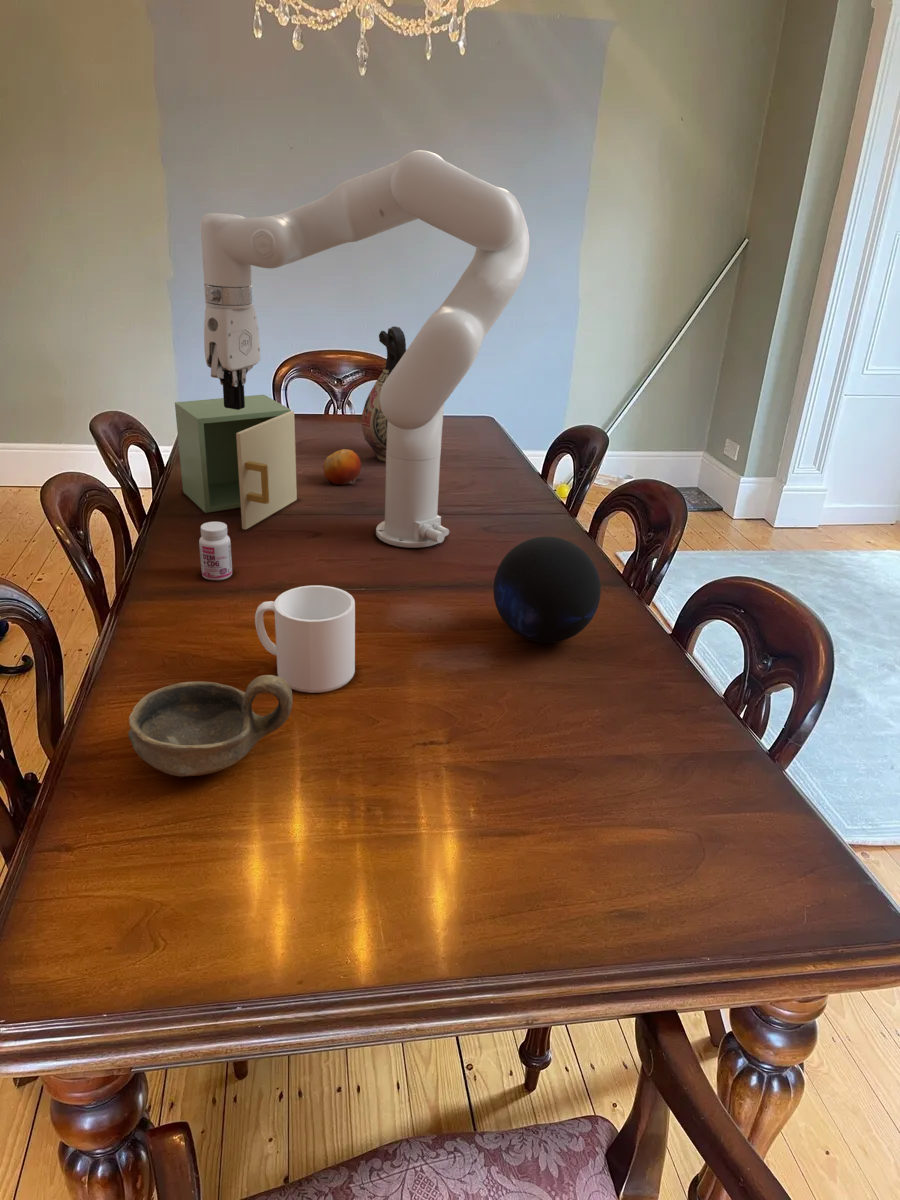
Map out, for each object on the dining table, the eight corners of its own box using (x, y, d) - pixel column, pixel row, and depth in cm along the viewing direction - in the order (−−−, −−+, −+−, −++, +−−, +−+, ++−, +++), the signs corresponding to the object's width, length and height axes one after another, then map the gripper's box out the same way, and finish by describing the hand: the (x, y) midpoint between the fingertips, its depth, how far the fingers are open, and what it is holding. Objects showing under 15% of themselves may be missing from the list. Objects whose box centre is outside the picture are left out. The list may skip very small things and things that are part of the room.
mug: (358, 654, 114) (358, 587, 109) (350, 695, 105) (350, 623, 100) (266, 650, 113) (262, 582, 109) (250, 691, 104) (245, 618, 100)
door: (315, 503, 164) (313, 414, 156) (265, 534, 149) (260, 437, 141) (293, 499, 166) (290, 410, 158) (242, 529, 151) (235, 433, 143)
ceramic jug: (355, 449, 199) (355, 318, 185) (417, 447, 203) (422, 318, 190) (370, 471, 184) (372, 331, 171) (437, 468, 189) (444, 331, 175)
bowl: (147, 720, 98) (137, 647, 93) (298, 719, 99) (296, 646, 95) (116, 798, 85) (103, 718, 81) (289, 795, 87) (286, 716, 83)
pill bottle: (202, 582, 131) (197, 532, 127) (201, 569, 135) (197, 521, 131) (233, 580, 132) (229, 530, 128) (232, 567, 136) (228, 519, 132)
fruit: (367, 482, 173) (347, 449, 170) (335, 499, 175) (315, 466, 172) (371, 470, 180) (352, 438, 177) (340, 487, 182) (321, 455, 179)
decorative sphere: (614, 640, 121) (629, 545, 114) (548, 674, 112) (560, 573, 105) (535, 602, 131) (545, 513, 124) (468, 631, 121) (475, 536, 114)
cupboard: (293, 499, 166) (291, 409, 158) (205, 513, 157) (197, 418, 149) (267, 480, 176) (264, 394, 168) (183, 492, 166) (174, 402, 158)
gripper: (221, 303, 129) (227, 420, 137) (273, 294, 142) (276, 402, 150) (180, 298, 131) (189, 413, 139) (235, 290, 144) (240, 396, 152)
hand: (234, 407), depth 145 cm, fingers closed
